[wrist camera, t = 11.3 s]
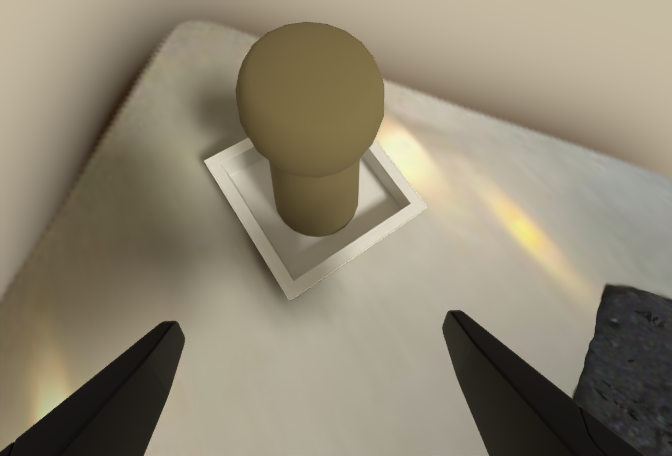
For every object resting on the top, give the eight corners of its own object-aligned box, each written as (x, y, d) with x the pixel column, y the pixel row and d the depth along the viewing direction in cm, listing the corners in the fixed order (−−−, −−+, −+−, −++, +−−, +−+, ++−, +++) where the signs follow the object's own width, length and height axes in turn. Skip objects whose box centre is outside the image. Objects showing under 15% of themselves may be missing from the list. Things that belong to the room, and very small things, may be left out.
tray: (293, 298, 17) (289, 300, 15) (218, 177, 19) (203, 160, 17) (414, 217, 19) (427, 207, 17) (336, 113, 21) (338, 90, 18)
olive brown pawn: (373, 183, 19) (442, 41, 8) (331, 253, 17) (347, 194, 7) (303, 144, 19) (281, -40, 8) (257, 209, 18) (160, 87, 7)
